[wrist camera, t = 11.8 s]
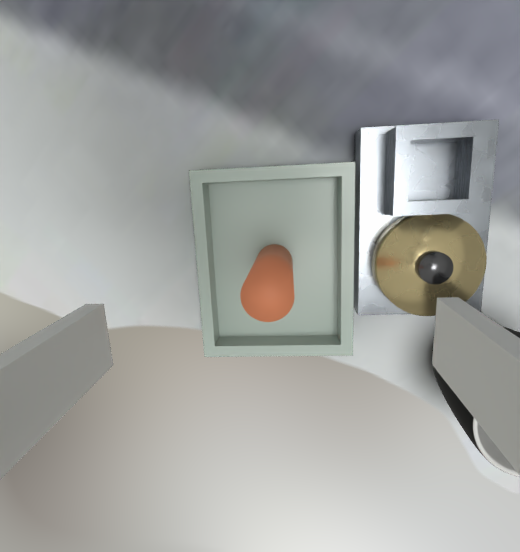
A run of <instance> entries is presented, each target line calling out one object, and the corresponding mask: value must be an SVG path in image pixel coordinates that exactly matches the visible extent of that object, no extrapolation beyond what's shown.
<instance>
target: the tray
mask: <svg viewBox="0 0 520 552" xmlns="http://www.w3.org/2000/svg"><path fill="white" fill-rule="evenodd" d="M189 179H190V191H191V203H192V215H193V227H194V238H195V250H196V262H197V274H198V285H199V297H200V309H201V321H202V333H203V344H204V356H205V357H239V356H240V357H242V356H353V300H354V223H355V162H342V163H323V164H304V165H284V166H265V167H246V168H227V169H208V170H189ZM271 244H277V245H281V246H283V247H285V248H286V249H287V250H288V251H289V252H290V254H291V256H292V262H293V279H294V303H293V306H292V308H291V310H290V312H289V313H288V314H287V315H286V316H285V317H283V318H282V319H280V320H277V321H274V322H262V321H258V320H256V319H254V318H252V317H251V316H250V315H249V314H248V313H247V312H246V311H245V310H244V308H243V306H242V303H241V298H240V293H241V288H242V286H243V283H244V281H245V279H246V277H247V275H248V274H249V272H250V270H251V268H252V266H253V264H254V262H255V260H256V258H257V256H258V254H259V252H260V251H261V250H262V249H263V248H264V247H266V246H268V245H271Z"/></svg>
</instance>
